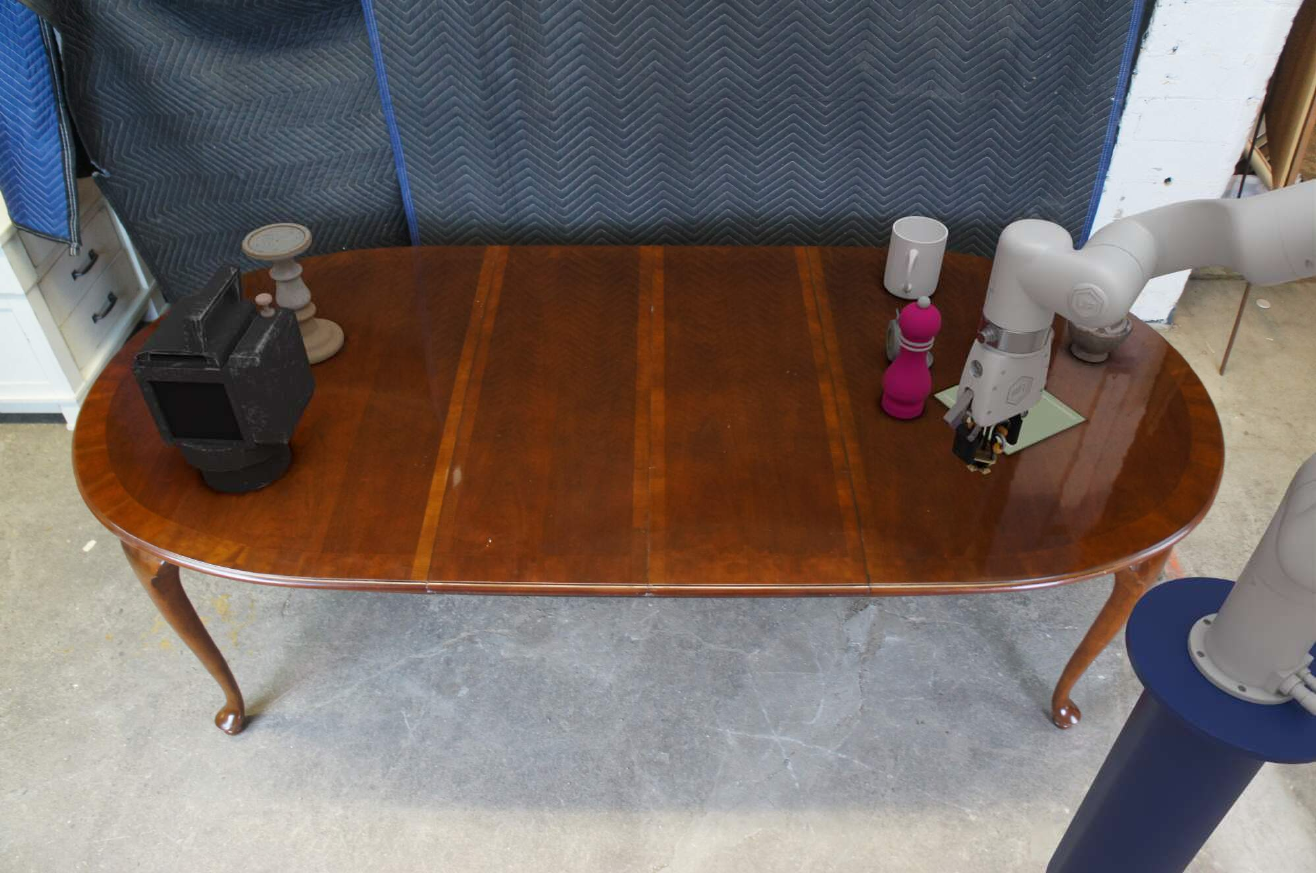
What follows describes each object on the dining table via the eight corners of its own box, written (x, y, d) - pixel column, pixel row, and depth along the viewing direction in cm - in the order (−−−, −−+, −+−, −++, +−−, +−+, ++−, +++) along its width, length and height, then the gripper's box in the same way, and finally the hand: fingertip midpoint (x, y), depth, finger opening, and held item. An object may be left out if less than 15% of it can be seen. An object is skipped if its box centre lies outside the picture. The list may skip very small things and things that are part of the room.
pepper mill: (874, 415, 151) (895, 305, 138) (882, 388, 156) (902, 279, 143) (922, 425, 149) (948, 315, 136) (928, 397, 154) (953, 288, 141)
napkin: (1085, 420, 150) (1085, 419, 150) (1007, 455, 144) (1008, 453, 144) (1008, 366, 160) (1009, 364, 160) (933, 396, 154) (934, 394, 154)
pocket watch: (940, 365, 161) (952, 314, 154) (901, 382, 157) (912, 330, 151) (905, 341, 166) (915, 290, 159) (867, 356, 162) (876, 305, 156)
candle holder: (353, 324, 170) (327, 219, 156) (333, 367, 160) (304, 259, 147) (282, 324, 170) (250, 218, 156) (258, 366, 160) (222, 258, 147)
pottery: (1134, 369, 160) (1159, 306, 152) (991, 385, 156) (1009, 321, 148) (1097, 331, 168) (1119, 269, 161) (961, 345, 164) (976, 283, 157)
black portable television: (217, 428, 149) (150, 253, 129) (333, 432, 148) (284, 258, 128) (174, 497, 137) (94, 318, 118) (299, 503, 137) (240, 323, 117)
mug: (932, 274, 182) (944, 217, 174) (940, 310, 173) (953, 252, 165) (881, 272, 182) (890, 215, 175) (885, 307, 173) (896, 249, 166)
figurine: (953, 472, 124) (970, 423, 118) (959, 448, 127) (976, 400, 122) (991, 483, 122) (1011, 434, 117) (996, 459, 126) (1015, 411, 121)
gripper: (980, 368, 105) (952, 490, 117) (1094, 321, 112) (1057, 441, 123) (932, 334, 111) (910, 455, 122) (1044, 292, 117) (1012, 410, 128)
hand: (984, 447), depth 123 cm, fingers closed on figurine, 6 cm apart
